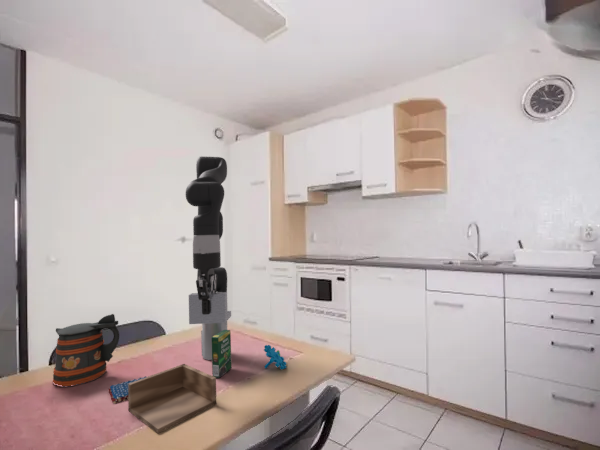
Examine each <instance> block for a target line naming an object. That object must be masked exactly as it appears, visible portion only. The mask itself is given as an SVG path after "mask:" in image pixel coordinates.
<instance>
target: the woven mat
mask: <svg viewBox="0 0 600 450" xmlns="http://www.w3.org/2000/svg"><path fill="white" fill-rule="evenodd" d="M145 377H147V376H144V377H139V378H137V379H136V378H134V379H131V380H128V381H123V382H121V383H117V384H112V385H111V386H109V388H108V393H109V395H110V399H111V402H113V404H117V402H118V403H120V402H122V401H123V402H125V401H126V400H128V384H129V383H131V382H134V381H137V380H140V379H143V378H145Z"/></svg>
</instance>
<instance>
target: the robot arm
mask: <svg viewBox="0 0 600 450" xmlns="http://www.w3.org/2000/svg"><path fill="white" fill-rule="evenodd" d="M195 170H196V171H195V172H196V178H195V179H193V180H192V181H190V182H189V183H188V184H187V186H186V189H185V198H186V199H185V200H186V201H187V203H189V205H190V206H192V207H197V215H196V216H194V217H193V219H192V220H193V221H192V224H193V225H192V226H193V240H192V263H193V265H192V266H193V269H194V270H197V272H196V273H197V275H196V276H197V278H196V281H195V284H196V291H197V293H198V298H199V300H201V301H202V314H210V313H211V302H210V299H211V293H213V292H227V293H228V273H227V270H226V268H225V267H222V266H221V265H222V263H221V238H222V237H223V233H224V217H223V213H222V212H221V210H222V206H223V201H224V198H225V188H224V186H223V185H222V183H224V182H225V181H226V179H227V175H228V164H227V161H226V159H225V158H223V157H222V156H221V157H220V156H199V157H197V159H196V169H195ZM204 293H205V295H204ZM201 325H202V326H201V327H202V329H201V331H200V333H201V340H200V341H201V356H202V358H203V359H204V360H207V361H208V360H209V361H212V337H213V336H215V335H216V334H218V333H220V332H221V331H223V330H228V320H227V321H226V323H207V324H201Z"/></svg>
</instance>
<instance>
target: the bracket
mask: <svg viewBox="0 0 600 450" xmlns="http://www.w3.org/2000/svg"><path fill="white" fill-rule="evenodd" d="M204 295H205V293H204ZM210 302H211V313H210V314H202V301H201V300H199V298H198V292H195V293H190V294H188V321H189V322H188V323H189V325H200V324H201V325H202V324H207V323H226V321H227V322H228V320H229V319H230V318H231V317H232V310H228V291H227V292H213V293H211V299H210Z"/></svg>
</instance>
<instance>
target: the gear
mask: <svg viewBox="0 0 600 450" xmlns="http://www.w3.org/2000/svg"><path fill="white" fill-rule="evenodd" d="M263 347H264V349H263V351H264V352H265V357H268V358H270V359H269V361H268V362H267V363H266V364H265V365H264V369H268V367H270V365H272V364H273V363H274V366H275V367H276V368H277V369H278V368H279V369H280V370H285V369H287V362H286V361H285V358H284V357H283V356H281V351H280V350H277V351H276V348H275V347H274V346H273V347H272V346H271V344H266V345H264V346H263Z"/></svg>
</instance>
